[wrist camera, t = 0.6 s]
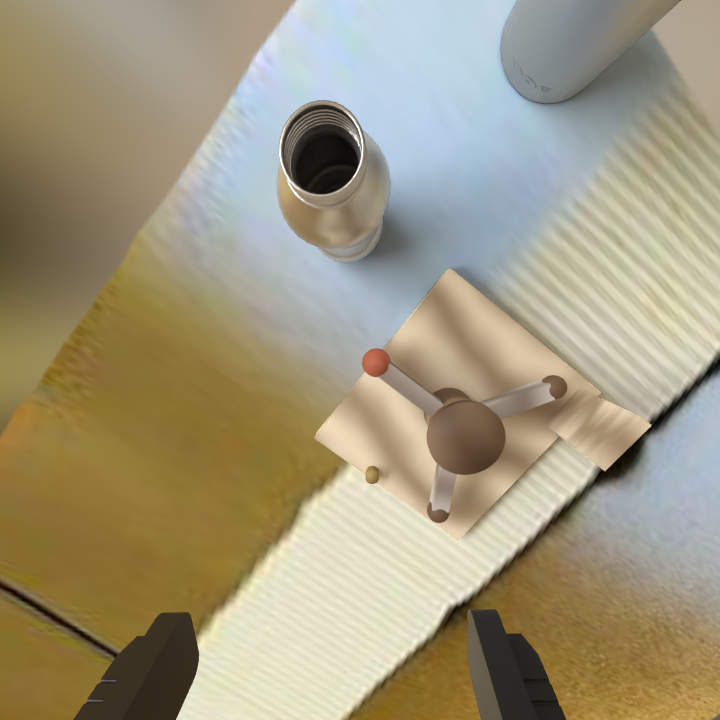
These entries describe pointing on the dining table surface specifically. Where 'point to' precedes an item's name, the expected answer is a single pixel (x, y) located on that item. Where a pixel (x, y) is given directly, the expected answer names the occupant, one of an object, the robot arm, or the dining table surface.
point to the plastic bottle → (332, 181)
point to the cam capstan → (461, 423)
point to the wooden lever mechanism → (479, 382)
